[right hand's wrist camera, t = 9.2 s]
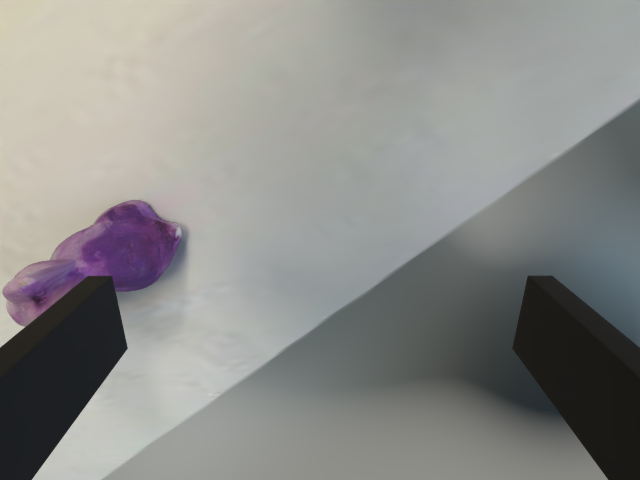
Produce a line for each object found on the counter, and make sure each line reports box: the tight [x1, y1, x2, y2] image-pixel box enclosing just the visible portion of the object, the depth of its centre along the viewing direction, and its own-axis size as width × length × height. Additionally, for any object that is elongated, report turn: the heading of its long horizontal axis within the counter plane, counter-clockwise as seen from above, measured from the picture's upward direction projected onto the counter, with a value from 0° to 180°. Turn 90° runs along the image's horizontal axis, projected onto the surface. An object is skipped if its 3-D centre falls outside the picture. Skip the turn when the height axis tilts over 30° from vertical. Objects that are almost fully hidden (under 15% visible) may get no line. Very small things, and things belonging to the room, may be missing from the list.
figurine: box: [3, 200, 182, 326], centre depth 34 cm, size 9×10×15 cm
